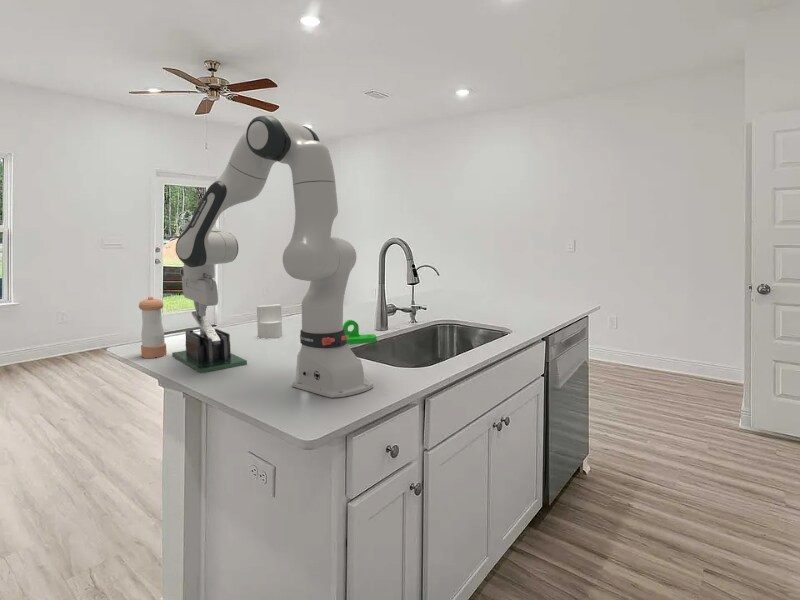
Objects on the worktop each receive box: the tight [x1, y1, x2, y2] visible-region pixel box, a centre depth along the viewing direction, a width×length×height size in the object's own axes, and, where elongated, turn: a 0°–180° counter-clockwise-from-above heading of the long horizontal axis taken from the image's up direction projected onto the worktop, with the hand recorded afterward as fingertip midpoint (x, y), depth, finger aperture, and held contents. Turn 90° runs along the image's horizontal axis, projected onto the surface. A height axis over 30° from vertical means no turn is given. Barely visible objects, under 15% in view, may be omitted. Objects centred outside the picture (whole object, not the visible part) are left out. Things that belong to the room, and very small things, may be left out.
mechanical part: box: [343, 319, 378, 345], centre depth 181 cm, size 12×6×8 cm, turn 109°
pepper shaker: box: [138, 296, 168, 359], centre depth 157 cm, size 7×7×19 cm
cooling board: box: [171, 327, 248, 374], centre depth 153 cm, size 24×14×9 cm, turn 43°
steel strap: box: [191, 310, 223, 346], centre depth 152 cm, size 18×3×1 cm
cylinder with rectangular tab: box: [256, 303, 283, 339], centre depth 187 cm, size 9×9×12 cm
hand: (200, 315), depth 155 cm, fingers closed
